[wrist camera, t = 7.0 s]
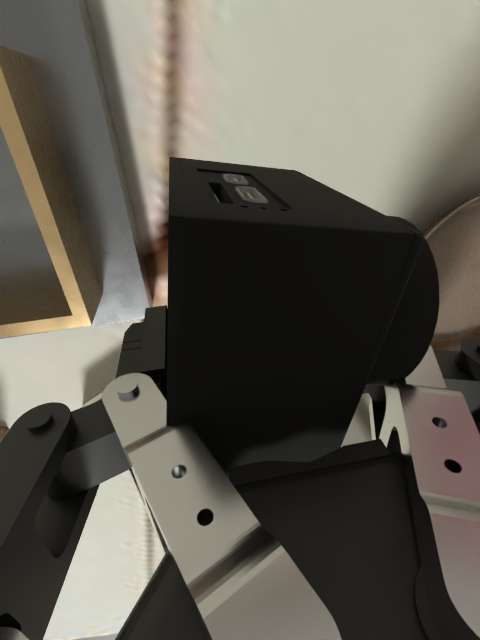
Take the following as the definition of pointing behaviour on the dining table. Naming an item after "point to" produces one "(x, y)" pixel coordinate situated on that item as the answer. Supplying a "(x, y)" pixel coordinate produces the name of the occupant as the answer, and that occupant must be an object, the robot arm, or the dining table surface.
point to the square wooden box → (61, 180)
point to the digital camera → (285, 309)
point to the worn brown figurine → (3, 432)
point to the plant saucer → (457, 274)
